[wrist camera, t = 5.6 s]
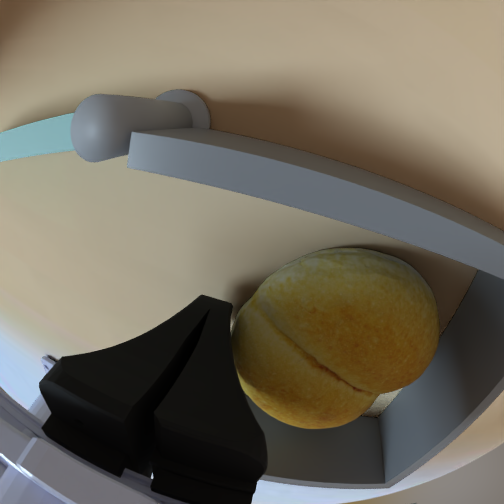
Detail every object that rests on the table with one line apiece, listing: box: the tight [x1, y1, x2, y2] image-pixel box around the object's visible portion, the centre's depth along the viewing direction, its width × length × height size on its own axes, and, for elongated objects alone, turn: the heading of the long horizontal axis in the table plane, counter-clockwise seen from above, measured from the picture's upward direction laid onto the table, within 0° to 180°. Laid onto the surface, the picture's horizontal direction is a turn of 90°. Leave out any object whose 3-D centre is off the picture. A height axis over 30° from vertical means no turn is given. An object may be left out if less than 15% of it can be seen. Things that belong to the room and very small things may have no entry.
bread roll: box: [231, 248, 440, 429], centre depth 11 cm, size 8×9×4 cm
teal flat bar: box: [0, 94, 193, 162], centre depth 8 cm, size 14×2×4 cm, turn 87°
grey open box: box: [127, 90, 504, 489], centre depth 10 cm, size 15×16×5 cm
